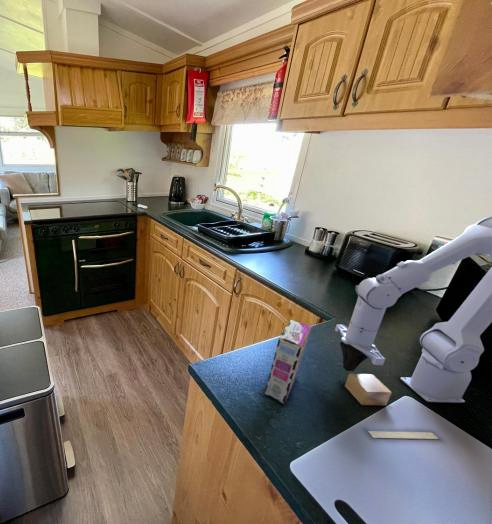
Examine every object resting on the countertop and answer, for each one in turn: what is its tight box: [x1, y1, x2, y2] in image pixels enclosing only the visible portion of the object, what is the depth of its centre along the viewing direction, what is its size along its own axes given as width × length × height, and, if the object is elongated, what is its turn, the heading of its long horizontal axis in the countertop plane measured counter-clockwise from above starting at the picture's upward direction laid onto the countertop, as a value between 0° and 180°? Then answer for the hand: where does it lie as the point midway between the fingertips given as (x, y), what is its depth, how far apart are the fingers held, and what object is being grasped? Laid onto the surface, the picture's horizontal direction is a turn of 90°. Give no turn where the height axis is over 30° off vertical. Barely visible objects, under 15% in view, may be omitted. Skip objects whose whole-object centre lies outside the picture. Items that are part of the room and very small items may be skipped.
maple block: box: [344, 373, 393, 406], centre depth 70 cm, size 6×6×4 cm
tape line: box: [367, 430, 439, 440], centre depth 61 cm, size 14×2×1 cm, turn 91°
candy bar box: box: [264, 319, 312, 405], centre depth 70 cm, size 11×5×16 cm, turn 141°
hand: (348, 369), depth 77 cm, fingers closed
